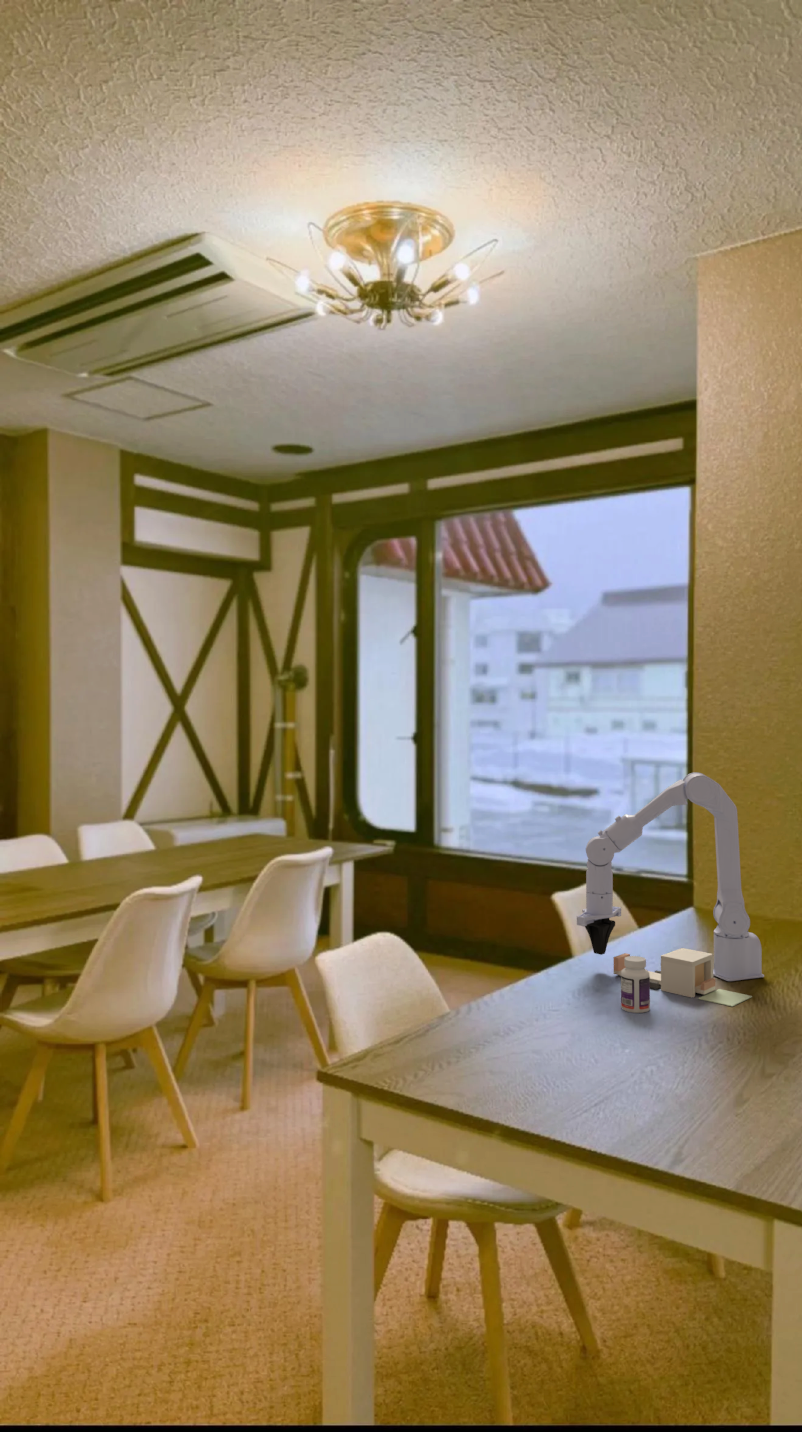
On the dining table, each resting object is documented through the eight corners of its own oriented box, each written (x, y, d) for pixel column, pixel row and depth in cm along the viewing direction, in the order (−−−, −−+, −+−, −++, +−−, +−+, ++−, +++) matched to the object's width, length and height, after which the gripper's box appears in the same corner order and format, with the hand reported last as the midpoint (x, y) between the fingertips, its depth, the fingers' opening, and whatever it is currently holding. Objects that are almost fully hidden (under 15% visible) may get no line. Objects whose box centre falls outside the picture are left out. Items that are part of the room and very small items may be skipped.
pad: (719, 989, 195) (719, 988, 195) (752, 997, 190) (752, 996, 190) (698, 999, 189) (698, 998, 189) (732, 1006, 184) (732, 1005, 184)
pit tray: (656, 976, 205) (656, 970, 205) (677, 980, 201) (677, 975, 201) (635, 984, 199) (635, 978, 199) (656, 989, 195) (656, 983, 195)
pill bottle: (647, 1005, 185) (647, 955, 185) (652, 1014, 180) (651, 962, 180) (619, 1004, 186) (619, 954, 186) (622, 1013, 180) (622, 962, 180)
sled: (625, 969, 208) (625, 946, 208) (715, 989, 193) (715, 965, 193) (613, 973, 205) (613, 950, 205) (704, 994, 190) (704, 969, 190)
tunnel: (682, 981, 200) (682, 947, 200) (713, 988, 196) (713, 954, 195) (660, 990, 194) (660, 955, 194) (692, 997, 189) (692, 962, 189)
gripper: (602, 884, 218) (602, 944, 218) (565, 893, 207) (564, 956, 208) (629, 889, 213) (629, 949, 213) (592, 898, 202) (592, 962, 203)
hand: (599, 953), depth 210 cm, fingers closed
